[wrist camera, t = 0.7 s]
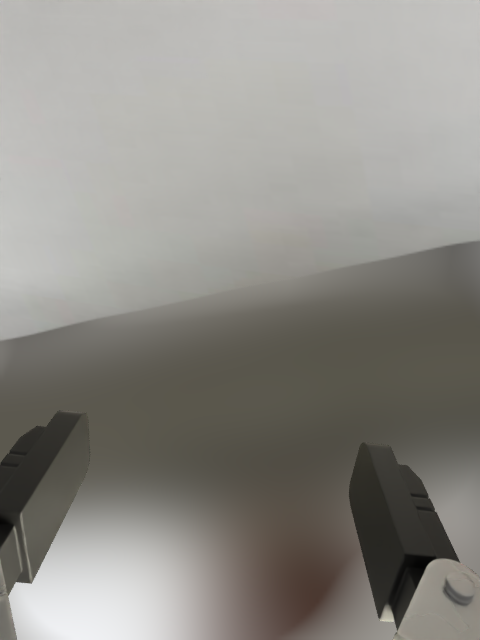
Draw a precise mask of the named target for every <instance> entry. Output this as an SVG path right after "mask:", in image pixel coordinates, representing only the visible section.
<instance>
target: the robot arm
mask: <svg viewBox="0 0 480 640" xmlns="http://www.w3.org/2000/svg"><path fill="white" fill-rule="evenodd" d="M89 461H90V445H89V428H88V416H87V414H86V413H83V412H73V411H64V410H59V411H58V412H57V413H56V414H55V416H54V417H53V418H52V420H51V421H50V422H49V424H48V425H47V427H41V426H36V427H35V428H33V429H32V430H30V431H29V432H28V433H26V434H24V435H23V436H21V437H20V438H19V440H18V441H17V442H16V444H15V445H14V446H13V447H12V449H11V450H10V453H9V454H7V455H6V457H5V458H4V459H3V460H2V462H1V464H0V640H17V637H16V632H15V628H14V623H13V618H12V613H11V608H10V603H9V598H8V595H9V594H10V592H11V590H12V588H13V586H14V584H15V582H21V583H32V582H33V580H34V578H35V576H36V574H37V572H38V570H39V568H40V566H41V564H42V562H43V560H44V558H45V556H46V554H47V552H48V550H49V548H50V546H51V544H52V542H53V540H54V538H55V536H56V533H57V532H58V530H59V528H60V526H61V524H62V522H63V520H64V518H65V516H66V514H67V512H68V510H69V508H70V506H71V504H72V502H73V500H74V498H75V496H76V494H77V492H78V490H79V487H80V486H81V484H82V482H83V480H84V478H85V475H86V473H87V470H88V466H89ZM349 499H350V506H351V509H352V514H353V518H354V522H355V526H356V530H357V534H358V537H359V541H360V546H361V550H362V553H363V558H364V562H365V566H366V570H367V574H368V578H369V582H370V585H371V589H372V593H373V598H374V602H375V606H376V610H377V614H378V618H379V621H389V622H395V624H396V628H397V633H396V634H395V636H394V638H393V640H480V577H479V576H478V575H477V574H476V573H475V572H474V571H473V570H471V569H470V568H468V567H467V566H465V565H463V564H461V563H460V561H459V559H458V557H457V555H456V553H455V551H454V549H453V547H452V544H451V542H450V540H449V538H448V536H447V534H446V532H445V530H444V527H443V525H442V523H441V521H440V519H439V517H438V515H437V513H436V512H435V509H434V506H433V504H432V502H431V500H430V499H428V493H427V491H426V489H425V487H424V485H423V483H422V481H421V479H420V478H419V477H418V476H417V475H416V474H415V473H414V472H413V471H412V470H411V469H410V468H409V467H408V466H407V465H398V463H397V461H396V458H395V456H394V454H393V451H392V449H391V447H390V446H389V445H382V444H381V445H380V444H372V443H362V444H361V446H360V448H359V452H358V456H357V459H356V463H355V466H354V470H353V474H352V478H351V481H350V488H349Z"/></svg>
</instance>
